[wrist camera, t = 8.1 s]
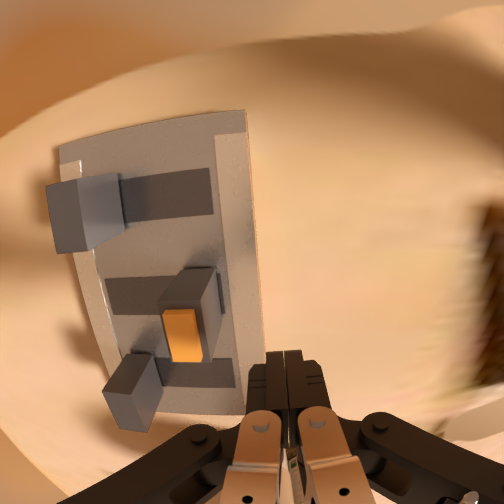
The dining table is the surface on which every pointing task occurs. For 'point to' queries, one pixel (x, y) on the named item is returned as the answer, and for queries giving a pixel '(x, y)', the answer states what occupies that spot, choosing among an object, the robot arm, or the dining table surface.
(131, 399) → the block
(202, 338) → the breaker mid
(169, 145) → the panel
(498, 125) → the dining table surface
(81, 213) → the block
